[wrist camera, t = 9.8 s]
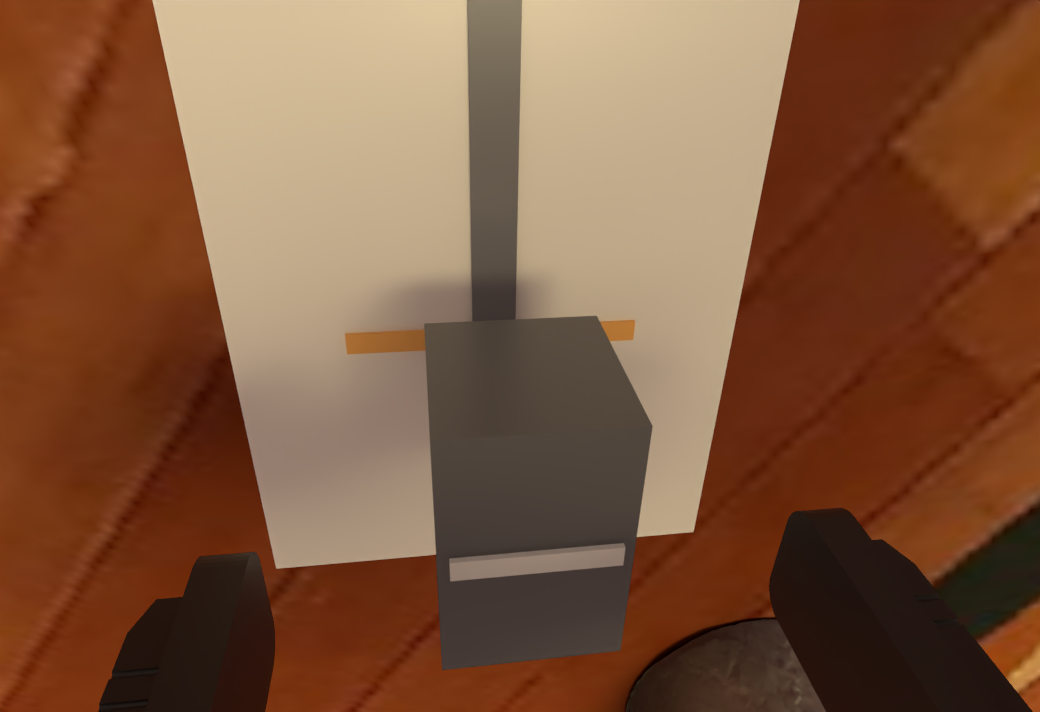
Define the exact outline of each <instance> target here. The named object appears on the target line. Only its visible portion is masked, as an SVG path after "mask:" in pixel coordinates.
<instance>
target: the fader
mask: <svg viewBox="0 0 1040 712" xmlns="http://www.w3.org/2000/svg"><path fill="white" fill-rule="evenodd" d="M424 330H425V351H426V372H427V392H428V413H429V433H430V453H431V471H432V490H433V508H434V526H435V545H436V563H437V582H438V600H439V619H440V637H441V656H442V670H448V669H457V668H466V667H475V666H484V665H493V664H502V663H512V662H521V661H530V660H539V659H548V658H557V657H566V656H576V655H585V654H594V653H603V652H612V651H620V649H621V642H622V635H623V628H624V621H625V614H626V607H627V600H628V593H629V586H630V580H631V573H632V566H633V559H634V552H635V545H636V538H637V531H638V524H639V517H640V510H641V503H642V497H643V490H644V483H645V476H646V469H647V462H648V455H649V448H650V441H651V434H652V427H653V426H652V424H651V422H650V420H649V418H648V416H647V414H646V412H645V410H644V408H643V406H642V404H641V402H640V400H639V398H638V396H637V394H636V392H635V390H634V388H633V386H632V384H631V382H630V380H629V378H628V377H627V375H626V373H625V371H624V369H623V367H622V365H621V363H620V361H619V359H618V357H617V355H616V353H615V351H614V349H613V347H612V345H611V343H610V341H609V339H608V337H607V335H606V333H605V331H604V329H603V327H602V325H601V323H600V321H599V319H598V317H597V316H579V317H557V318H535V319H513V320H491V321H469V322H447V323H425V324H424Z"/></svg>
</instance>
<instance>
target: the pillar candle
mask: <svg viewBox="0 0 1040 712" xmlns="http://www.w3.org/2000/svg"><path fill="white" fill-rule="evenodd" d="M626 712H826V711H825V709H824V707H823V705H822V703H821V701H820V699H819V698H818V696H817V694H816V692H815V690H814V688H813V686H812V685H811V683H810V681H809V679H808V677H807V675H806V673H805V671H804V670H803V668H802V666H801V664H800V662H799V660H798V658H797V656H796V655H795V653H794V651H793V649H792V647H791V645H790V643H789V641H788V640H787V638H786V636H785V634H784V632H783V630H782V628H781V626H780V625H779V623H778V621H777V620H776V619H762V620H756V621H747V622H741V623H738V624H736V625H729V626H726V627H723V628H719V629H717V630H712V631H710V632H708V633H706V634H704V635H702V636H700V637H698V638H696V639H694V640H692V641H690V642H689V643H687V644H685V645H684V646H682V647H680V648H679V649H677V650H675V651H674V652H672V653H671V654H669V655H668V656H666V657H664V658H663V659H661V660H660V661H658V662H656V663H655V664H654V665H652V666H651V667H650V668H649V669H648V670H647V671H646V672H645V673H644V674H643V676H642V678H641V679H639V680H638V682H637V683H636V685H635V687H634V689H633V691H632V693H630V699H629V700H628V703H627V707H626Z"/></svg>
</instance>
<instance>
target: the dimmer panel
mask: <svg viewBox="0 0 1040 712" xmlns="http://www.w3.org/2000/svg"><path fill="white" fill-rule="evenodd" d="M799 1H800V0H153V5H154V9H155V14H156V19H157V23H158V28H159V32H160V37H161V42H162V46H163V51H164V55H165V60H166V64H167V69H168V74H169V78H170V83H171V87H172V92H173V97H174V101H175V106H176V110H177V115H178V120H179V124H180V129H181V133H182V138H183V143H184V147H185V152H186V156H187V161H188V166H189V170H190V175H191V179H192V184H193V189H194V193H195V198H196V202H197V207H198V212H199V216H200V221H201V225H202V230H203V234H204V239H205V244H206V248H207V253H208V257H209V262H210V267H211V271H212V276H213V280H214V285H215V290H216V294H217V299H218V303H219V308H220V313H221V317H222V322H223V326H224V331H225V336H226V340H227V345H228V349H229V354H230V359H231V363H232V368H233V372H234V377H235V381H236V386H237V391H238V395H239V400H240V404H241V409H242V414H243V418H244V423H245V427H246V432H247V437H248V441H249V446H250V450H251V455H252V460H253V464H254V469H255V473H256V478H257V483H258V487H259V492H260V496H261V501H262V506H263V510H264V515H265V519H266V524H267V528H268V533H269V538H270V542H271V547H272V551H273V556H274V561H275V565H276V569H279V568H290V567H302V566H313V565H324V564H336V563H347V562H359V561H370V560H381V559H393V558H404V557H415V556H427V555H436V545H435V526H434V508H433V490H432V471H431V453H430V433H429V413H428V392H427V372H426V351H425V330H424V324H425V323H447V322H469V321H491V320H513V319H535V318H557V317H579V316H597V317H598V319H599V321H600V323H601V325H602V327H603V329H604V331H605V333H606V335H607V337H608V339H609V341H610V343H611V345H612V347H613V349H614V351H615V353H616V355H617V357H618V359H619V361H620V363H621V365H622V367H623V369H624V371H625V373H626V375H627V377H628V378H629V380H630V382H631V384H632V386H633V388H634V390H635V392H636V394H637V396H638V398H639V400H640V402H641V404H642V406H643V408H644V410H645V412H646V414H647V416H648V418H649V420H650V422H651V424H652V426H653V427H652V434H651V441H650V448H649V455H648V462H647V469H646V476H645V483H644V490H643V497H642V503H641V510H640V517H639V524H638V531H637V537H642V536H653V535H665V534H676V533H688V532H694V527H695V522H696V517H697V512H698V507H699V502H700V497H701V492H702V487H703V482H704V477H705V472H706V467H707V462H708V457H709V452H710V447H711V442H712V437H713V432H714V427H715V422H716V417H717V412H718V407H719V402H720V397H721V392H722V387H723V382H724V377H725V372H726V367H727V362H728V357H729V352H730V347H731V342H732V337H733V332H734V327H735V322H736V317H737V312H738V307H739V302H740V297H741V292H742V287H743V282H744V277H745V272H746V267H747V262H748V257H749V252H750V247H751V242H752V237H753V232H754V227H755V222H756V217H757V212H758V207H759V202H760V197H761V192H762V187H763V182H764V177H765V172H766V167H767V161H768V156H769V151H770V146H771V141H772V136H773V131H774V126H775V121H776V116H777V111H778V106H779V101H780V96H781V91H782V86H783V81H784V76H785V71H786V66H787V61H788V56H789V51H790V46H791V41H792V36H793V31H794V26H795V21H796V16H797V11H798V6H799Z"/></svg>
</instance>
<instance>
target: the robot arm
mask: <svg viewBox="0 0 1040 712" xmlns="http://www.w3.org/2000/svg"><path fill="white" fill-rule="evenodd" d="M769 591H770V599H771V604H772V608H773V611H774V614H775V617H776V619H777V621H778V623H779V625H780V626H781V628H782V630H783V632H784V634H785V636H786V638H787V640H788V641H789V643H790V645H791V647H792V649H793V651H794V653H795V655H796V656H797V658H798V660H799V662H800V664H801V666H802V668H803V670H804V671H805V673H806V675H807V677H808V679H809V681H810V683H811V685H812V686H813V688H814V690H815V692H816V694H817V696H818V698H819V699H820V701H821V703H822V705H823V707H824V709H825V711H826V712H1032V710H1031V709H1030V708H1029V707H1028V705H1027V704H1026V703H1025V702H1024V700H1023V699H1022V698H1021V697H1020V695H1019V694H1018V693H1017V691H1016V690H1015V689H1014V688H1013V686H1012V685H1011V684H1010V683H1009V681H1008V680H1007V679H1006V678H1005V676H1004V675H1003V674H1002V673H1001V671H1000V670H999V669H998V668H997V666H996V665H995V664H994V663H993V661H992V660H991V659H990V658H989V656H988V655H987V654H986V653H985V651H984V650H983V649H982V648H981V646H980V645H979V644H978V643H977V641H976V640H975V639H974V638H973V636H972V635H971V634H970V633H969V631H968V630H967V629H966V628H965V626H964V625H960V624H959V623H958V618H957V616H956V615H955V614H954V613H953V611H952V610H951V609H950V608H949V606H948V605H947V604H946V602H945V601H944V600H940V599H939V597H938V592H937V591H936V590H935V589H934V587H933V586H932V585H931V584H930V582H929V581H928V580H927V579H926V577H925V576H924V575H923V574H922V572H921V571H920V570H919V569H918V567H917V566H916V565H915V564H914V563H913V562H911V561H910V560H909V559H907V558H906V557H905V556H903V555H902V554H901V553H899V552H898V551H897V550H895V549H894V548H893V547H891V546H890V545H889V544H887V543H886V542H885V541H883V540H882V539H881V540H871V538H870V537H869V536H868V534H867V533H866V532H865V531H864V529H863V528H862V527H861V525H860V524H859V523H858V521H857V520H856V519H855V517H854V516H853V515H852V514H851V513H850V512H849V511H847V510H846V509H843V508H833V509H820V510H808V511H796V512H793V513H792V514H791V515H790V517H789V519H788V521H787V524H786V528H785V531H784V534H783V538H782V541H781V544H780V547H779V551H778V554H777V557H776V560H775V564H774V567H773V570H772V573H771V577H770V584H769ZM274 655H275V629H274V621H273V617H272V612H271V608H270V603H269V599H268V595H267V590H266V586H265V582H264V577H263V573H262V568H261V564H260V560H259V557H258V555H257V553H255V552H249V553H236V554H223V555H210V556H200V557H199V558H198V559H197V560H196V562H195V564H194V566H193V568H192V571H191V574H190V577H189V580H188V583H187V586H186V589H185V592H184V595H183V597H178V598H167V599H156V601H155V602H154V603H153V604H152V605H151V606H150V608H149V609H148V610H147V611H146V612H145V613H144V615H143V616H142V617H141V618H140V619H139V620H138V621H137V623H136V624H135V625H134V626H133V627H132V628H131V630H130V631H129V632H128V633H127V635H126V638H125V640H124V643H123V645H122V648H121V650H120V653H119V655H118V658H117V660H116V663H115V665H114V668H113V671H112V679H109V681H108V683H107V686H106V688H105V691H104V693H103V696H102V698H101V701H100V703H99V706H100V708H99V711H98V712H265V709H266V704H267V698H268V693H269V687H270V682H271V676H272V671H273V665H274Z"/></svg>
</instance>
